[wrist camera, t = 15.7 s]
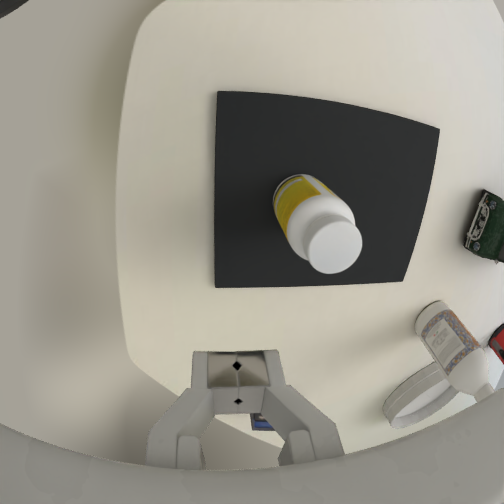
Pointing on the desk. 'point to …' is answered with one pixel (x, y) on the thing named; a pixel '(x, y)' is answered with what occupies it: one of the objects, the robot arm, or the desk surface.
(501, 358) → the speaker
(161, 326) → the desk surface
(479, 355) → the bath foam
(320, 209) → the supplement bottle
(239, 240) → the mat
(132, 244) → the desk surface
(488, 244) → the miniature car
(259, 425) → the mini dv tape
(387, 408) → the dish
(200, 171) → the desk surface
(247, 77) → the desk surface
